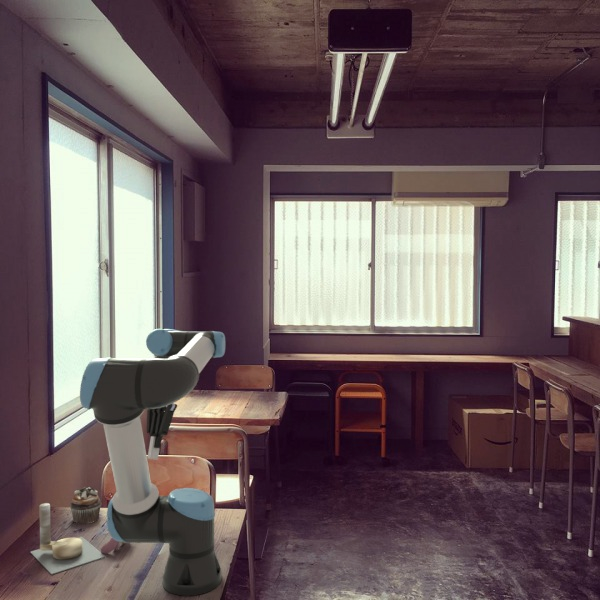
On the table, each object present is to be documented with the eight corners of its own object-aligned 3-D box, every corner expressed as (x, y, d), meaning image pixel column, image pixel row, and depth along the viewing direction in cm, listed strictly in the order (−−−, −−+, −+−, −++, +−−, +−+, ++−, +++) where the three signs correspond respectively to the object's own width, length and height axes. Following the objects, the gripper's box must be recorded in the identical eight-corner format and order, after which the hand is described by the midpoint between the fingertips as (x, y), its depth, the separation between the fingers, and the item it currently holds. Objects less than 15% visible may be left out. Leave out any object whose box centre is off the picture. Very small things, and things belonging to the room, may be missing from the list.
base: (105, 557, 173) (105, 555, 173) (51, 574, 163) (51, 573, 163) (81, 537, 186) (81, 536, 186) (30, 552, 176) (30, 551, 176)
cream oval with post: (87, 547, 178) (86, 500, 177) (74, 560, 170) (74, 511, 169) (47, 545, 179) (46, 499, 178) (33, 558, 171) (32, 510, 170)
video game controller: (111, 561, 174) (121, 540, 173) (98, 552, 175) (108, 532, 174) (127, 545, 184) (137, 526, 183) (115, 537, 185) (124, 518, 184)
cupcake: (63, 521, 197) (63, 491, 197) (87, 510, 206) (86, 481, 205) (84, 527, 193) (84, 496, 192) (107, 516, 201) (107, 486, 201)
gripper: (188, 382, 185) (175, 462, 180) (163, 381, 194) (150, 457, 189) (167, 378, 180) (154, 460, 175) (143, 377, 189) (129, 455, 184)
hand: (152, 458), depth 182 cm, fingers closed
